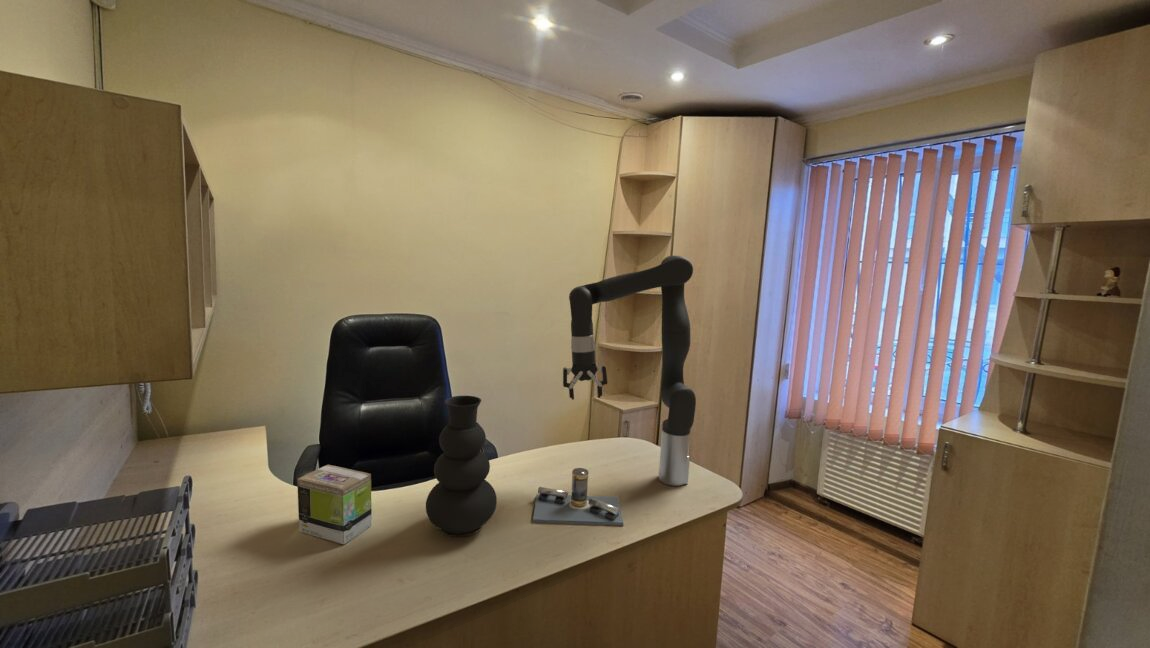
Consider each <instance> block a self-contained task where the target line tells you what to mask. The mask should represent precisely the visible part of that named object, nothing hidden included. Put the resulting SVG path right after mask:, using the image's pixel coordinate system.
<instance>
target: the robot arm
mask: <svg viewBox="0 0 1150 648" xmlns="http://www.w3.org/2000/svg"><path fill="white" fill-rule="evenodd" d="M693 274H694V267H693V264H692V262H691V261H690V260H689V259H688V258H686V257H685V256H682V255H669V256H666V257H664V259H663V260H662V261H661V263H660V264H659V265H657V266H654V267H650V268H648V269H643V270H639V271H634V272H630V273H623V274H620V275H614V276H612V277H609V278H605V279H603V280H599V281H597V282H591V283H588V284H583V285H579V286H576V287H574V288H572V289H571V290H570V292H569V295H568V300H569V307H570V317H571V320H570V333H571V341H570V343H571V344H570V345H571V346H570V348H571V349H570V350H571V362H572V365H571V366H572V367H570V368H569V367H568V368H567V367H566V366H565V367H562V368H563V369H562V384H563V385H562V386H563V387H564V388H568V392H569V393H568V394H569V395H568V396H569V398H570V399H571V401H572V400H575V393H574V386H576V384H577V382H578V381H580V382H583V381H591V380H593V382H595V383H596V385H597V386H596V387H597V388H596V390H597V398H598V399H600V398H601V397H602V396H603V386H604V385H608V374H607V367H606V365H605V364H602V365H600V366H598V365H597V363H596V359H597V358H596V342H595V335H594V324H593V305H595V304H596V305H597V304H599V303H603V302H604V303H606V302H611V301H615V300H617V299H621V298H625V297H628V296H631V295H635V294H637V293H640V292H644V291H648V290H653V289H657V288H660V291H661V349H662V351H661V352H662V354H661V357H662V360H661V361H662V374H661V375H662V376H661V385H660V386H661V387H660V397H661V401H662V403H663V404H664V406H665V407H667V408H668V413H667V414H668V415H667V418H666V419H664V420H662V425H661V429H662V430H661V438H660V439H661V441H660V453H659V467H658V480H659V481H660V482H661V483H663V484H665V485H669V486H675V487H679V486H683V485H688V483H689V474H690V472H689V471H690V460H691V457H690V455H689V450H690V440H691V439H690V438H691V429H692V427H693V425H694V421H695V415H696V414H695V413H696V406H697V398H696V394H695V391H693V390H692V388H690V387H688V386H687V385H685V381H684V365H685V361H686V359H687V357H688V354H689V352H690V348H691V322H690V318H689V317H690V316H689V313H688V310H687V309H688V308H687V305H686V302H685V301H686V300H685V284H687V282H688V281H690V280H691V278H692V276H693ZM598 371H599V373H601V374H602V380H600V379H599V378H598V377H597V375H596V373H597V372H598ZM570 373H572V375H573V377H572V378H571V380H570V382H568V376H570Z"/></svg>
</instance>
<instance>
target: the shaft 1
mask: <svg viewBox="0 0 1150 648" xmlns="http://www.w3.org/2000/svg"><path fill="white" fill-rule="evenodd" d="M537 494H540V495H539V497H538V500H540V501H547V499H548V498H549V496H555V497H556V498H555V503H557V504H563V503H564V501H565V499H567V498H568V495H570V493H569V491H566V490H562V489H557V488H556V489H555V488H549V487H543V486H538V489H537Z"/></svg>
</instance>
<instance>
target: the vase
mask: <svg viewBox="0 0 1150 648" xmlns="http://www.w3.org/2000/svg"><path fill="white" fill-rule="evenodd" d="M481 403H482V398H480V397H478V396H474V395H454V396H451V397H448V398H446V399H445V400H444V404H445V406H446V407H447V410H448V423H447V424H446V425H445V426H444V428H443V429H442V430H441V432H440V434H439V437H438V438H439V439H438V441H439V442H438V443H439V446H440V448H441V450H442V451H443V453H442V454H441V455H439V457H437V459H436V461H435V463H434V466H433V467H434V468H433V473H434V477H435V479H436V480H437V481H438V483H436V484H435V485H434V486H433V487H432V489H431V490H430V491H429V493H428V495H427V498H426V500H425V512H426V515H427V517H428V520H429V521H430V523H431V524H433V526H434V527H436V528H437V529H439V530H440V531H441V532H442V534H445V535H447V536H449V537H466V536H469V535H473V534H475V533H476V532H478V531H479V530H481V529H482V527H483V526H484V525H486V523H487V522H488V521H489V520H490V519H491V518H492V516H493V515H494V514H495V511H496V508H497V502H498V501H497V500H498V499H497V493H496V491H495V488H494V487H493V485H492V484H491V483H490V482H488V481H487V480H486V478H487V477H488V476H489V474H490V470H491V469H490V468H491V463H490V461H489V458H488V456H487V455H486V454H485V453H484V452H483V451H482V449H483V448H484V446H485V444H486V441H487V440H486V438H487V437H486V432H485V430H484V428H483V427H482V426H481V425H480V424H479V422H477V420H478V419H477V417H478V408H479V406H480V405H481Z"/></svg>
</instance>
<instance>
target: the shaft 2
mask: <svg viewBox="0 0 1150 648" xmlns="http://www.w3.org/2000/svg"><path fill="white" fill-rule="evenodd" d="M589 505H591V506H592V507H591V508H590V512H591V513H593V514H596V515H597V514H598V513H600V512H601V511H602V510H604V511H607V513H606V514H605V518H606V519H608V520H611V521H613V520H614V519H615V518H616V517H618V516H619V508H617V507H615V506H612V505H609V504H607V503H604V502H601V501H599V500H596V499H594V498H590V499H589Z"/></svg>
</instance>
